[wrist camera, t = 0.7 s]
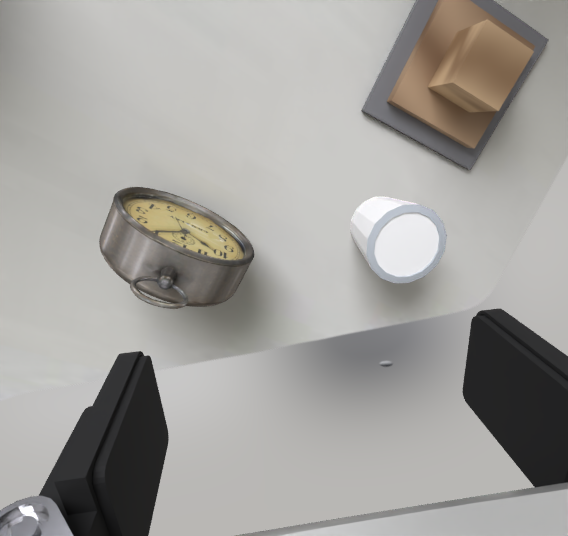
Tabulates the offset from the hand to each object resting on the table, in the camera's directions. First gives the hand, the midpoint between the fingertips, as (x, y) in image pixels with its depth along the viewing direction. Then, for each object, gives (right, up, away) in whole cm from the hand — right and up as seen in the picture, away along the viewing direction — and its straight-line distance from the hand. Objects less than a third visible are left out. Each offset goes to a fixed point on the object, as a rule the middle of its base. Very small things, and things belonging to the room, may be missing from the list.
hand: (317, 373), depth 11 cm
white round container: (+8, +7, +27) cm, 29 cm away
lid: (+14, +20, +22) cm, 33 cm away
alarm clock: (-10, +7, +25) cm, 28 cm away
